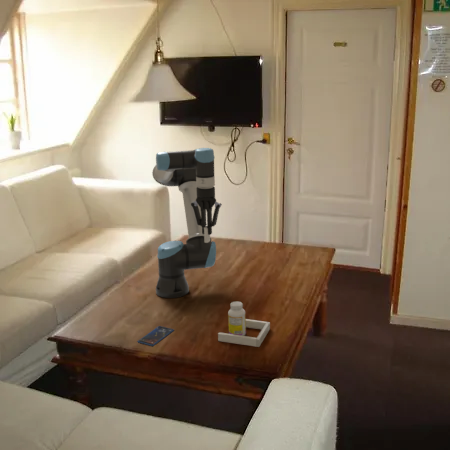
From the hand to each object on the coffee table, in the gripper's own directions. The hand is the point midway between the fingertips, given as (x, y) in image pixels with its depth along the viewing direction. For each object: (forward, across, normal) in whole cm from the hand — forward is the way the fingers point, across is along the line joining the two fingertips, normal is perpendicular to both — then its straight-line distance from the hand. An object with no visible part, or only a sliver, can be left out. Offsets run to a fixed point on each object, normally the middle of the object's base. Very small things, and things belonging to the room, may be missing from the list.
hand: (207, 241), depth 243 cm
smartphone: (+30, -10, -32) cm, 45 cm away
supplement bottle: (+30, +20, -21) cm, 41 cm away
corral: (+29, +22, -21) cm, 42 cm away
